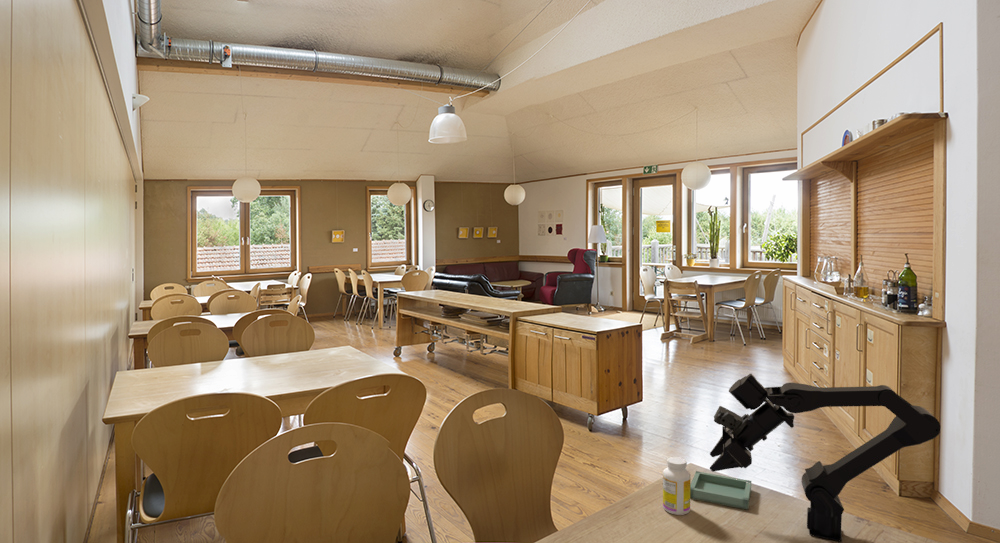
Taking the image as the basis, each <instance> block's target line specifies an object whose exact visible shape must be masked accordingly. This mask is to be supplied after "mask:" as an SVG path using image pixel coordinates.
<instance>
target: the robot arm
mask: <svg viewBox="0 0 1000 543" xmlns="http://www.w3.org/2000/svg"><path fill="white" fill-rule="evenodd" d="M728 392H729V394H730V395H731V396H733V398H735V399H736V401H738V403H740V405H742V406H743V408H744V409H745V410H749V409H750V410H751V411H752V410H754V411H753V412H751V414H749V413H747V414H746V413H745V414H743V415H742V416H740V415H739V414H737V413H735V412H734V411H731V409H728V408H727V407H724V406H721V405H719V406H718V408H717V409H716V412H715V413H714V416H713V418H714V419H713V421H714V423H716V424H717V425H721V426H722V436H721V437H720V439H719V440H718V441H717V443H716V444H715V446H714V447H713V449H712V450H711V451H710V452H709V455H710V456H711V457H712V458H715V457H718V458H716V460H714V461H713V463H712V464H711V465H710V467H709V470H710V472H719V471H725V470H729V469H730V470H731V469H737V468H741V469H742V468H744V469H747V468H748V467H749V466H751V465H752V461H753V460H752V459H753V458H752V453H751V452H752V451H753V450H754V446H755V445H756V444H758V443H759V442H760V441H761V440H762V441H763V442H765V441H766V440H768V437H767V436H768V435H769V434H770V433H771V432H773V431H775V430H776V429H777V428H778V427H779V426H780V425H781V424H783V423H786V424H787V425H788V426H789V427H790V428H791V429H793V428H794V427H795V425H794V419H795V415H794V414H800V413H801V414H802V413H807V412H812V411H815V410H818V409H821V408H827V407H829V408H831V407H833V408H835V407H836V408H839V407H843V408H844V407H884V408H886V409H887V410H888V411H890V412H891V413H892V414H893V415H895V416H894V417H893V419H892V421H891V422H890V423H889V425H888V427H887V428H886V429H885V430H883V431H882V432H880V433H878V434H877V435H876V436H874V437H872V438H871V439H870V440H867V441H866V442H865V443H862V445H860V446H858V447H857V448H855V449H853V450H852V451H850V452H849V453H847V454H846V455H845V456H843V457H842V458H840V459H838V460H836V461H835V462H833V463H831V464H826V465H825V464H824V465H823V463H822V462H821V461H820V460H818V461H817V462H815V464H813V465H812V466H810V467H808V468H805V469H804V471H805V472H804V473H803V474H802V476H801V482H800V483H801V485H802V488H803V492H804V495H805V497H806V499H807V500H808V501H809V502H810V505H809V506H810V507H808V506H807V510H806V513H807V515H806V529H808V531H809V536H812V537H816V538H821V539H826V540H831V541H834V542H843V538H842V537H843V536H842V523H843V522H842V521H843V520H842V519H843V518H842V517H843V513H844V511H845V508H844V506H843V504H842V502H841V498H840V497H839V495H840V493H841V492H842V490H843V489H845V488H844V487H845V486H846V484H848V483H849V482H850V481H851V480H853V479H855V478H856V477H858V476H859V475H861V474H863V473H864V472H866V471H868V470H869V469H871V468H872V467H874V466H876V465H877V464H879V463H881V462H882V461H884V460H885V459H887V458H889V457H890V456H892V455H894V454H895V453H897V452H898V451H900V450H901V449H904V448H907V447H912V446H917V445H922V444H925V443H927V442H929V441H931V440H934V439H936V438H937V437H939V435H940V434H941V423H940V422H939V420H938V418H936V417H935V416H934V414H932V413H930V411H928V410H927V409H926V408H924V407H922V406H919V405H913V404H911V403H910V402H909V401H908V400H906V399H905V398H903V397H902V396H901V395H899V394H898V393H896V392H895V391H894V390H893V388H891V387H890V386H888V385H885V384H881V385H877V386H876V385H874V386H843V387H842V386H835V387H832V386H830V387H821V386H814V385H809V384H806V383H799V382H798V383H797V382H786V383H784V384H782V386H771V387H769V386H767V387H764V386H763V384H761V383H760V381H758V380H757V378H756V377H755V376H754V375H753V374H752V373H749V374H748V375H746V376H744V377H741V378H738V380H736V381H735V382H734V383H733V384H731V386H730V387H729V389H728Z"/></svg>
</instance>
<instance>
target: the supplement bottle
mask: <svg viewBox="0 0 1000 543" xmlns="http://www.w3.org/2000/svg"><path fill="white" fill-rule="evenodd" d="M687 463H688V462H687V460H686V459H684V458H683V457H679V456H671V457H668V458H667V461H666V465H667V467H666V468H664V469H663V471H662V507H663V509H664V510H665V511H666V512H667V513H668V514H672V515H675V516H676V515H677V516H683V515H686V514H688V513H689V512H690V511H691V498H690V485H691V480H692V479H691V472H690V471H689V470H688V469H687Z"/></svg>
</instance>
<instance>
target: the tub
mask: <svg viewBox="0 0 1000 543" xmlns="http://www.w3.org/2000/svg"><path fill="white" fill-rule="evenodd" d="M736 479H737V480H736ZM746 482H748V483H746ZM749 483H750V484H749ZM751 492H752V480H748V479H741V478H737V477H733V476H732V477H731V476H726V475H720V474H716V473H715V474H714V473H710V472H709V473H708V472H702V471H700V470H699V471H697V470H696V471H695V473H694V475H693V477H692V479H691V481H690V500H691V499H692V500H697V501H703V502H707V503H712V504H716V505H721V506H726V507H731V508H735V509H737V508H738V509H743V510H746V511H747V510H749V504H750V500H751Z"/></svg>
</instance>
